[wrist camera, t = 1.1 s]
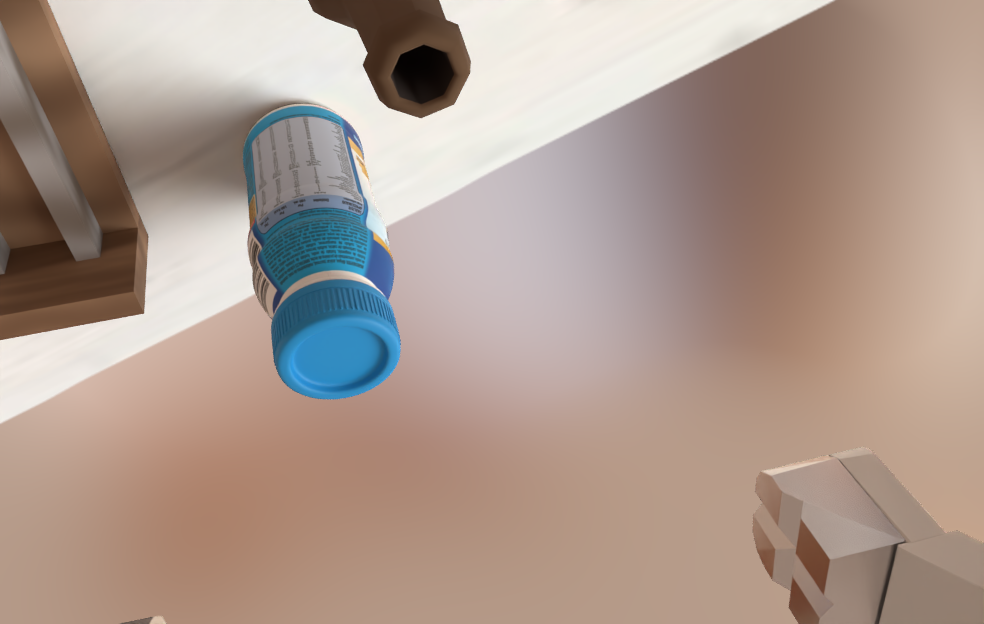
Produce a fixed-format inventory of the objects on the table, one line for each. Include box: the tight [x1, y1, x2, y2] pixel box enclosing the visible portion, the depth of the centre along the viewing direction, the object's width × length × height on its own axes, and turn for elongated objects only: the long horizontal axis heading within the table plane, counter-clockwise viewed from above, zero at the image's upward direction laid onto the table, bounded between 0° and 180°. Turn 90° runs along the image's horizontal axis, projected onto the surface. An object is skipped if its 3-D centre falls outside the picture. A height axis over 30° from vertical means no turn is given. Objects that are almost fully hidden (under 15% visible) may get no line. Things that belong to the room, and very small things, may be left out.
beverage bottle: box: [243, 104, 401, 399], centre depth 48 cm, size 8×8×20 cm
